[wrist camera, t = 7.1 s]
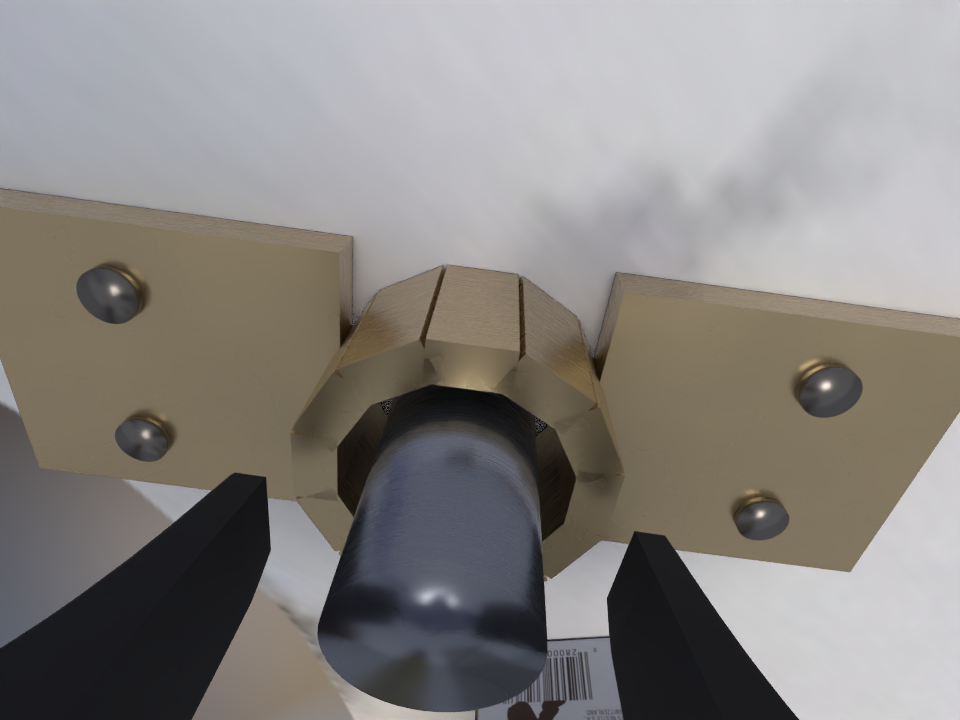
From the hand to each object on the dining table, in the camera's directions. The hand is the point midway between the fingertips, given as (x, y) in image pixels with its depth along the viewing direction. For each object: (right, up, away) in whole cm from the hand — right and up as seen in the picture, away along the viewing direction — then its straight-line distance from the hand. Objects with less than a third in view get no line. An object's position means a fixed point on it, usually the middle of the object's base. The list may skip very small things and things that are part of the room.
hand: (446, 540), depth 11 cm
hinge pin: (0, +3, +5) cm, 6 cm away
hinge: (0, +3, +5) cm, 6 cm away
